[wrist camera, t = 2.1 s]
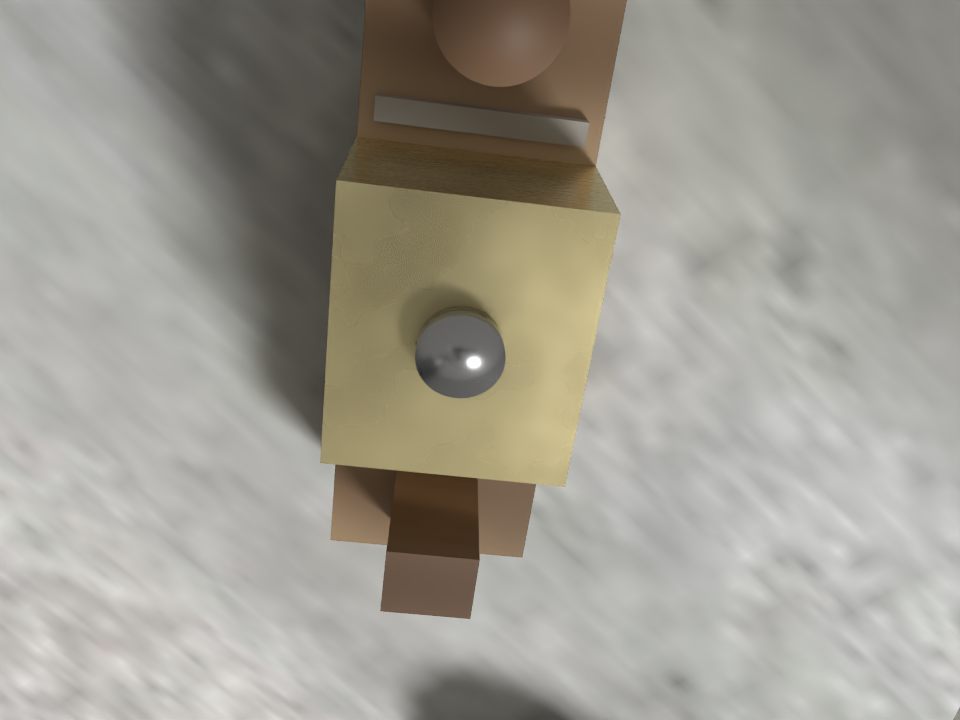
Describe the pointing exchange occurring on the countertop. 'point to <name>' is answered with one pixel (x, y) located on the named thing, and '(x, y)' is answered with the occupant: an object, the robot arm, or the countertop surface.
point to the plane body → (483, 128)
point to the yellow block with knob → (462, 310)
